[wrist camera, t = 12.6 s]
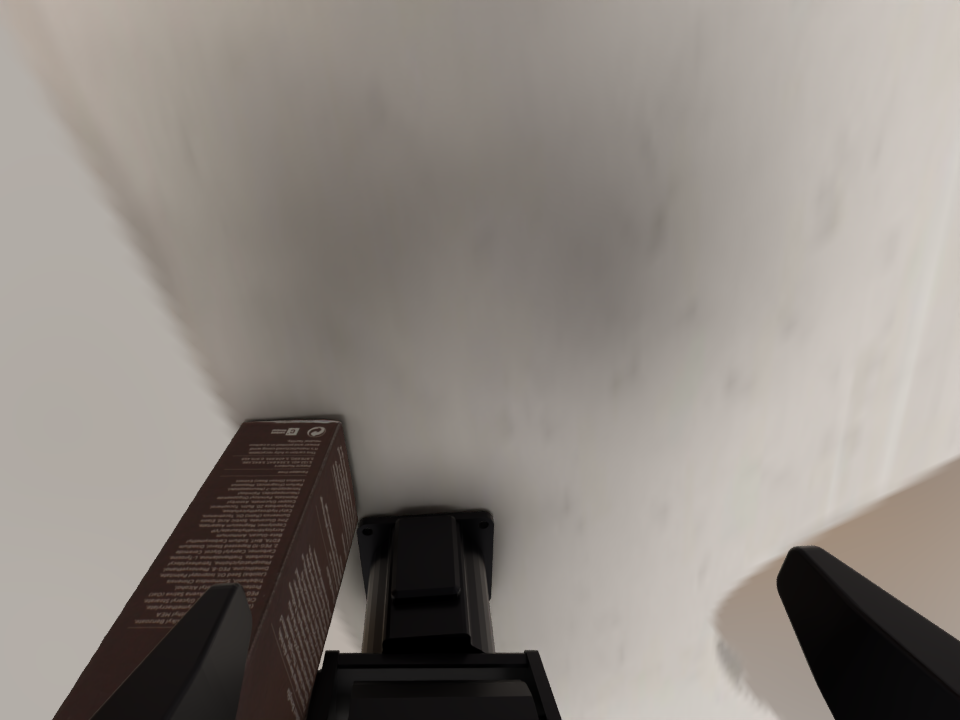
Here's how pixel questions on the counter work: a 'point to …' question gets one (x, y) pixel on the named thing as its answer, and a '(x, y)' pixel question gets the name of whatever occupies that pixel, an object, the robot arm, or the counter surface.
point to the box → (248, 566)
